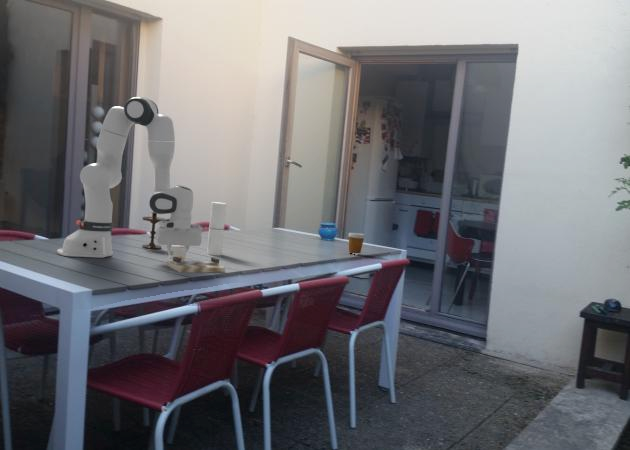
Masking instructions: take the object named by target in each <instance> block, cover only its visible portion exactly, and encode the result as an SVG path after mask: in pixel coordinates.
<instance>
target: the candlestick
mask: <svg viewBox="0 0 630 450" xmlns="http://www.w3.org/2000/svg"><path fill="white" fill-rule="evenodd" d="M150 213H151V214H152V215H151V216H142V220H143V221H146V222H150V223H151V231H149V233H150V237H149V239H150V242H149V243H148V244H142V245H141V248H142V249H147V250H162V245H159V244H155V235H156V230H155V229H156V224H159V221H162V220H166V219H167V218H164V217H158V216H157V215H158V214H157V213H155V212H154V211H151V212H150Z"/></svg>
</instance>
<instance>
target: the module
mask: <svg viewBox="0 0 630 450" xmlns="http://www.w3.org/2000/svg"><path fill="white" fill-rule="evenodd" d="M170 249H171V251H173V255H168V259H169V260H173V257H178V258H180V259H181V261H186V256H185V254H186V255H187V252H186V248H185V247H183V245H172V246H171V247H170Z"/></svg>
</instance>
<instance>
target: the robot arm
mask: <svg viewBox="0 0 630 450" xmlns="http://www.w3.org/2000/svg"><path fill="white" fill-rule="evenodd" d="M133 125H140V126H143V127H145V128H146V131H147V147H148V148H147V149H148V154H149V155H148V156H149V158H150V160H151V162H152V165H153V169H154V190H153V193H152V195H151V197H150V198H149V208H150V209H151V212H153V211H154V212H155V213H157V215H165V214H170V218H165V219H166V220H162V221H159V222H158V225H159V227H157V229H156V230H155V232H156V234H154V237H155V238H154V243H156V245H158V246H162V245H163V246H164V245H165V246H166V249H167V251H168V253H167V254H168V256H169V255H173V251H171V249H170V247H171V246H172V245H180V246H184V248H186V254H185V257H186V256H187V252H188V251H189V249H190V246H192V247H198V246H199V247H200V246H201V245H202V232H203V227H202V226H201V225H200V224H192V210H193V207H194V193H193V190H192V189H191V188H189V187H187V186H183V185H175V186H173V187H171V185H170V184H171V182H170V179H171V177H170V176H171V175H170V172H171V171H170V170H171V166H172V161H173V160H174V159H173V158H174V155H175V145H176V144H175V129H174V121H173V119H172V118H171V117H169V116H168V115H165V114H159V108H158V105H157V104H156V103H155V102H154V101H153V100H151V99H149V98H146V97H145V96H144V97H142V96H135V97H131V98H129V99H128V100H127V101H126V102H125V104H124V106H118V105H117V106H112V107H111V108H110V109H109V110H108V111H107V114H106V115H105V118H104V120H103V123H102V125H101V129H100V132H99V135H98V138H97V143H96V146H95V147H96V151H97V152H96V153H97V154H96V162H94V163H89V164H87V165H86V166H84V167H83V168H82V169H81V171H80V173H79V179H80V182H81V184H82V186H83V191H84V192H83V193H84V198H85V206H84V207H85V209H84V220H82V221H81V220H77V221H76V222H75V223H76V225H77V226H78V229H77V230H75V231H74V232H73V233H71V234H69V235H67V236H66V237H65V238H64V240H63V243H62V244H63V245H62V248H58V249H57V251H56V253H57V254H58V255H61V256H63V257H64V256H65V257H75V258H76V257H78V258H81V257H82V258H83V257H84V258H105V257H111V256H113V255H114V254H113V253H114V252H113V248H112V234H113V222H112V220H113V219H112V218H113V207H114V204H113V201H112V199H111V192H110V189H113V188H115V187H116V186H118V185H119V184H120V183H121V182H122V179H123V177H122V176H123V175H122V174H123V173H122V161H123V155H124V150H125V147H126V143H127V141H128V136H129V133H130V130H131V128H132V126H133Z"/></svg>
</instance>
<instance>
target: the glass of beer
mask: <svg viewBox="0 0 630 450" xmlns="http://www.w3.org/2000/svg"><path fill="white" fill-rule="evenodd" d="M365 238H366V237H365V234H364V233H361V232H349V233H348V253H349V252H350V253H360V254H361V251H362V248H363V243H364V239H365Z"/></svg>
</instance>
